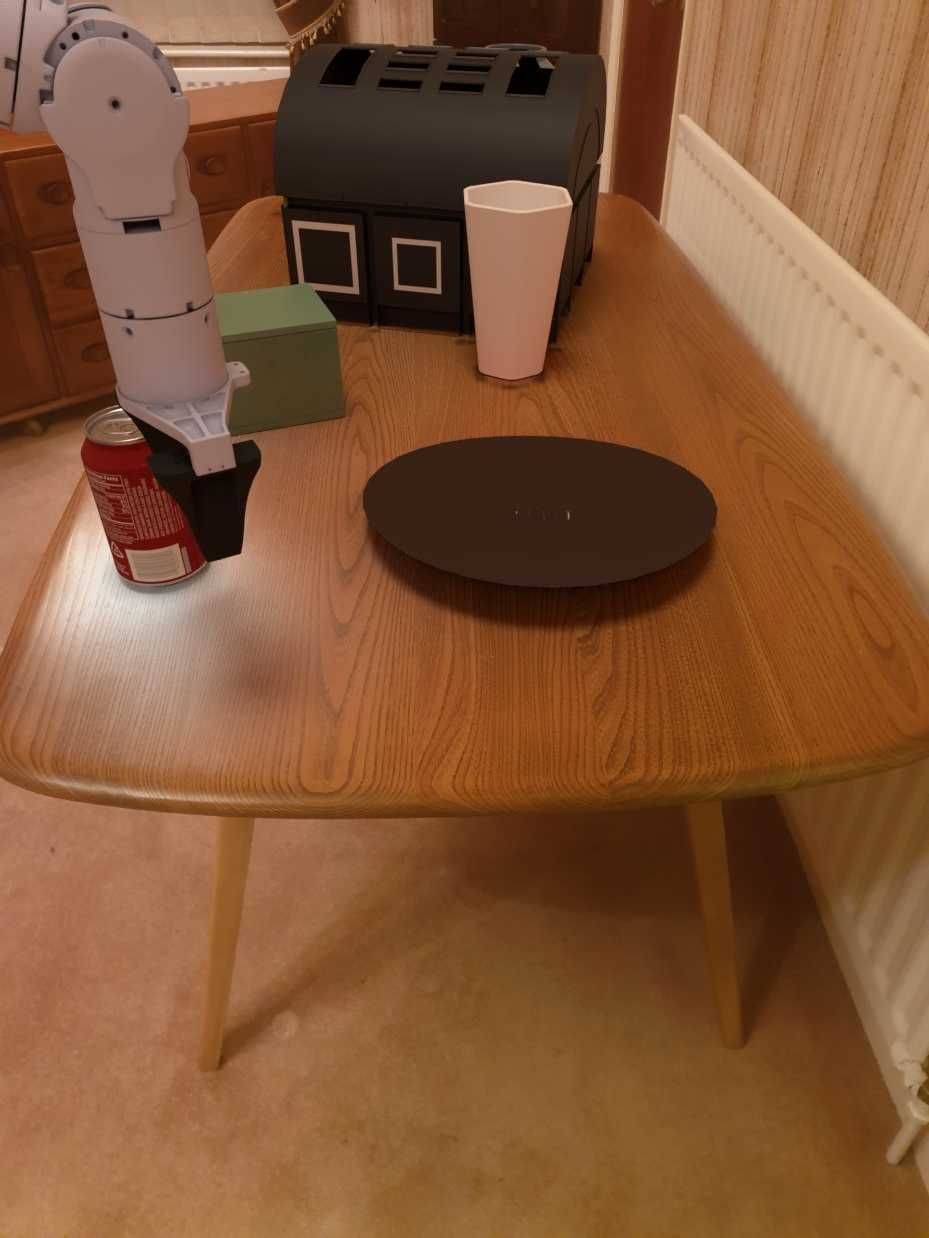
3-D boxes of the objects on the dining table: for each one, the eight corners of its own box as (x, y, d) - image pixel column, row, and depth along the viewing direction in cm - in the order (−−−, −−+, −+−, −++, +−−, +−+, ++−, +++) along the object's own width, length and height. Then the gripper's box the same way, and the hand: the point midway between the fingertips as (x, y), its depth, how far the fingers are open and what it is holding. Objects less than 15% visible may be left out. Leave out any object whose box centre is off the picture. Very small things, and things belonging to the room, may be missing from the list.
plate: (674, 436, 81) (681, 400, 79) (750, 630, 60) (762, 588, 58) (377, 435, 81) (375, 398, 79) (347, 628, 60) (342, 587, 57)
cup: (561, 388, 89) (577, 212, 78) (463, 388, 89) (465, 211, 78) (551, 345, 98) (564, 180, 87) (462, 345, 98) (463, 180, 87)
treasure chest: (554, 347, 97) (575, 78, 81) (290, 319, 103) (258, 63, 86) (592, 259, 121) (614, 37, 104) (375, 241, 127) (363, 28, 110)
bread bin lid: (191, 347, 75) (181, 300, 72) (175, 306, 82) (166, 262, 79) (337, 327, 78) (333, 281, 76) (309, 290, 86) (305, 247, 83)
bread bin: (216, 438, 80) (198, 347, 75) (199, 392, 88) (182, 306, 82) (345, 416, 84) (337, 328, 78) (318, 374, 91) (309, 290, 86)
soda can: (198, 595, 63) (162, 447, 55) (105, 593, 63) (56, 445, 55) (220, 541, 68) (190, 399, 60) (134, 540, 68) (93, 397, 60)
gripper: (277, 334, 41) (308, 567, 49) (197, 248, 50) (235, 455, 59) (123, 363, 38) (185, 603, 47) (70, 266, 48) (129, 479, 56)
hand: (205, 522), depth 53 cm, fingers open, 7 cm apart
